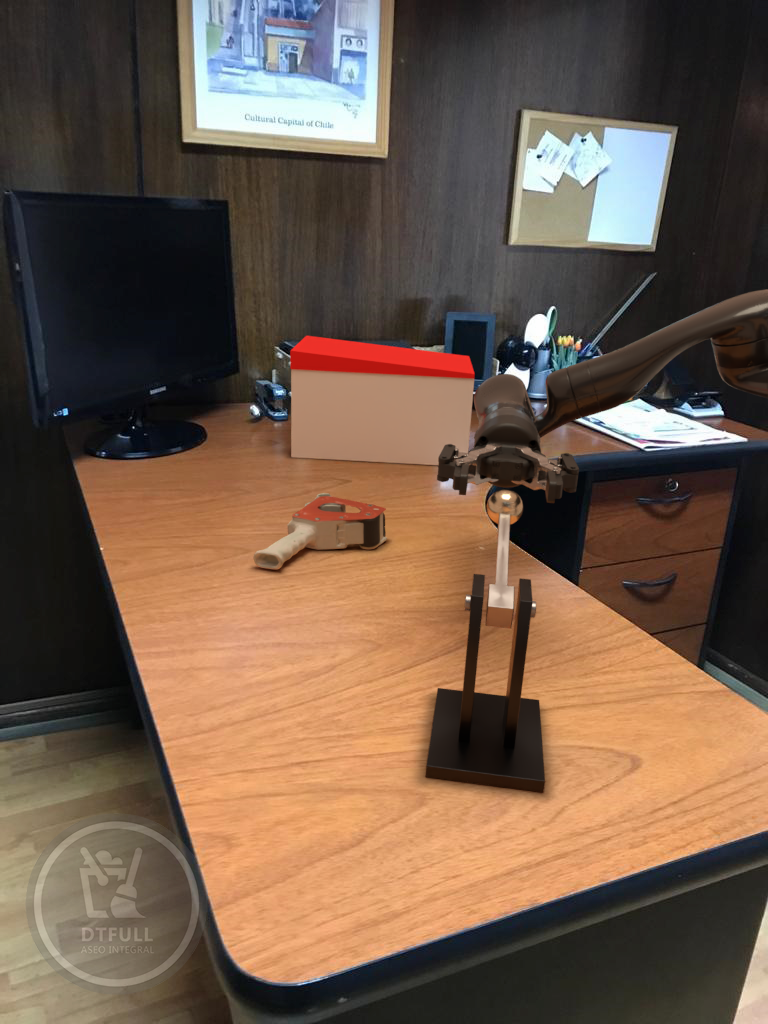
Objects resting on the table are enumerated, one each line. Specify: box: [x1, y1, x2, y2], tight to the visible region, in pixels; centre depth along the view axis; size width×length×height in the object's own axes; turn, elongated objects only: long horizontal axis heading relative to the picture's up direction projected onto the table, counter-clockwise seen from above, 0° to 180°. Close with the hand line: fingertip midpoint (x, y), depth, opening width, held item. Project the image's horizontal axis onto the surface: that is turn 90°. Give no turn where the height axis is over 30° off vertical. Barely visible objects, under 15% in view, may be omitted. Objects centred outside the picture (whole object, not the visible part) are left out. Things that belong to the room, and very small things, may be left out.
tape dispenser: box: [252, 492, 388, 570], centre depth 112 cm, size 18×5×20 cm
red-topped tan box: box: [289, 335, 476, 466], centre depth 158 cm, size 21×35×21 cm, turn 87°
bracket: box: [425, 573, 546, 793], centre depth 68 cm, size 12×10×16 cm
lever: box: [485, 488, 524, 629], centre depth 72 cm, size 17×4×4 cm, turn 172°
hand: (506, 489), depth 75 cm, fingers open, 8 cm apart
